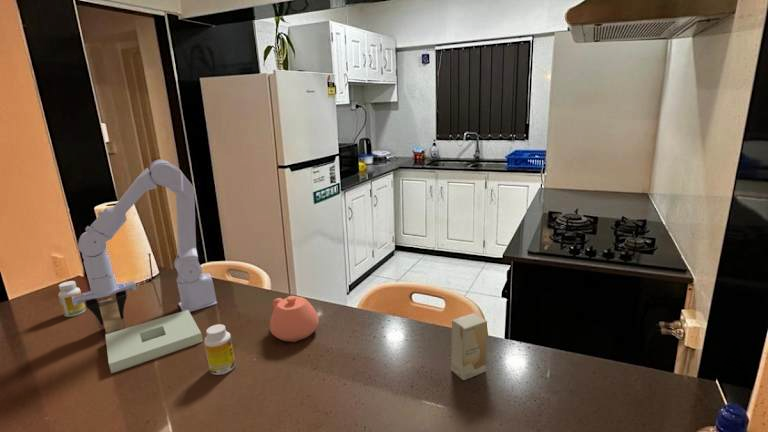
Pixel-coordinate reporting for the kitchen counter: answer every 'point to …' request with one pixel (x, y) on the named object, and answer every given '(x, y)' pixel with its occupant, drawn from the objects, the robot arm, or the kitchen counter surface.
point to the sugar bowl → (293, 319)
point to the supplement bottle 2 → (219, 350)
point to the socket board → (132, 351)
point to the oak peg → (110, 315)
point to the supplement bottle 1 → (70, 299)
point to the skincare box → (469, 346)
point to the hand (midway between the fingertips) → (112, 320)
